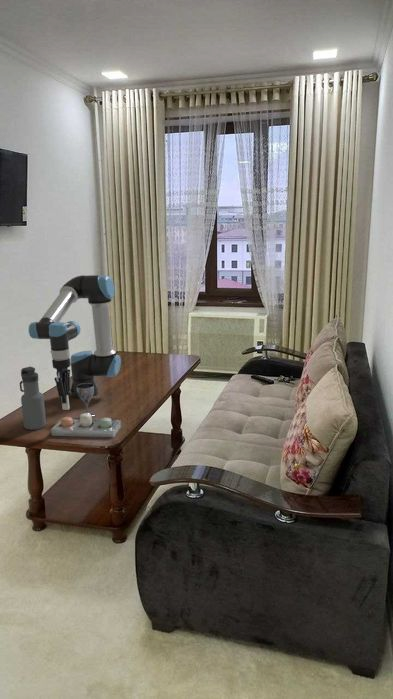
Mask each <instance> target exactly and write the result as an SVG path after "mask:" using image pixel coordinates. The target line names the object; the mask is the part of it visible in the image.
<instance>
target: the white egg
mask: <svg viewBox="0 0 393 699" xmlns="http://www.w3.org/2000/svg"><path fill="white" fill-rule="evenodd" d="M83 413H84V414H83ZM83 413H81V414H80V415H79V419H80V423H81V427H91V426H92V420H93V419H92V417H91V414H90V413H86V412H83Z"/></svg>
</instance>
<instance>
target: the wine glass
mask: <svg viewBox="0 0 393 699" xmlns="http://www.w3.org/2000/svg"><path fill="white" fill-rule="evenodd" d="M77 393H78V396H79V398H78V399H80V400H81V401H82V402H83V403H84V405H85V411H86V412H83V413H82V414H84V413H90V414H91V417H94V416H95V415H96V414H95V412H90V411H89V403H90V401H91V400H92V398H93V397H94V396H93V394H94V385H93V384H91V383H83V384H79V385H77Z"/></svg>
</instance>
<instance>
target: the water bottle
mask: <svg viewBox="0 0 393 699" xmlns="http://www.w3.org/2000/svg"><path fill="white" fill-rule="evenodd" d="M20 377H21V381H19V390H20V392H21V393H23V395H21V398H20V401H21V403H20V405H21V410H22V420H23V427H24V428H25V429H26V430H28V429H29V430H28V431H35V430H36V431H37V430H40V429H43V428H44V427H46V425H47V420H46V418H47V417H46V409H45V407H46V406H45V398H44V395H43V393H42V392H40V388H39V373H38V372H36V368H35V367H33V366H26V367H23V368H21V370H20Z"/></svg>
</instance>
